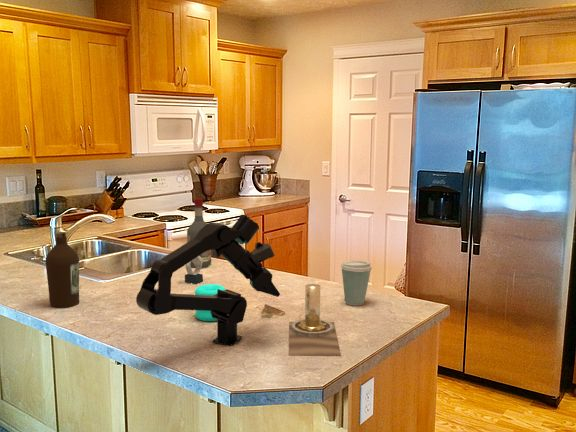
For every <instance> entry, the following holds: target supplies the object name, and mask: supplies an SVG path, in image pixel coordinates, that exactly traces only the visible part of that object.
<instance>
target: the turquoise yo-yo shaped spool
mask: <svg viewBox="0 0 576 432" xmlns="http://www.w3.org/2000/svg"><path fill="white" fill-rule="evenodd" d="M218 289H219V290H227V288H226V287H225V286H223V285H221V284H218V283H217V284H215V283H214V284H213V283H207V284H201V285H199V286H197V287H196V288H195V289H194V295H210V296H213V295H216V294H217V290H218ZM194 315H195V317H196V318H197V319H198V320H200V321H203V322H216V321H217V319H215V318H212V315H211V311H204V310H195V313H194Z"/></svg>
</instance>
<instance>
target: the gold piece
mask: <svg viewBox="0 0 576 432" xmlns="http://www.w3.org/2000/svg"><path fill="white" fill-rule="evenodd" d="M304 296H305V297H304V300H305V302H304V303H305V306H304V307H305V308H304V319H305V321H304V322H303V321H301V322H299V325H298V329H299V330H302V331H307V332H320V331H325V330H326V323H322V321H320V319H321V317H320V316H321V285H320V284H318V283H317V284H316V283H309V284H306V285H305V295H304Z"/></svg>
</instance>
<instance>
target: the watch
mask: <svg viewBox="0 0 576 432" xmlns="http://www.w3.org/2000/svg"><path fill="white" fill-rule="evenodd" d="M192 262H193V263H194V265H195V266H196V268H194V270H193V268H191V266H190V263H191V261H190V262H189V263H187V264H186V265H185V271H186V272H187V274H186V273H185V274H184V283H185V284H191V283H192V284H191V285H199V284H201V283H203V278H204V277H203V275H204V274H202V273H201V272H200V271H201V269H202V268H201V267H202V263H203V259H202V258H201V257H200V256H198V257H196V258H195V259H193V260H192ZM198 283H199V284H198Z"/></svg>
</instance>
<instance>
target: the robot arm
mask: <svg viewBox="0 0 576 432" xmlns="http://www.w3.org/2000/svg"><path fill="white" fill-rule="evenodd" d="M259 230H260V226H259V224H258V223H257V222H255V221H254V220H253V219H251V218H250V217H249V216H247V214H241V215H240V216H239V217H238V218H237V220H236V222H235V223H234V224H233V225H232V226H231V227H229V226H228V225H226V224H222V223H217V222H213V221H211V222H208V223H206V225H205V226H204V227H203V228H202V229H201V230H200V231H199V232H198V234H197V236H196V237H195V238H194V239H192V240H191V241H189V242H186V243H184V244H182V245H181V246H179V247H178V248H176V249H174V250H173V251H171V252H169V253H168V254H167V255H165V256H163V257H162V258H160V259H158V260H155V261H154V262H153V263H152V264H151V268H150V271H149V272H148V274H147V275H146V277H145V278H144V280H143V281H142V284H141V286H140V289H139V292H138V293H137V295H136V298H135V302H136V304H137V306H138V308H139V309H142V310H144V311H146V312H148V313H150V314H151V315H155V316H160V315H164V314H170V313H171V312H173V311H176V310H178V311H196V310H204V311H211V315H212V318H215V319H217V324H216V325H217V326H216V329H217V331H216V332H217V337H216V338H214V339H213V340H212V343H214V344H222V345H227V346H234V345H235V344H236V343H237V342H239V341H240V340H242V339H243V336H242V335H238V324H240V323H242V322H243V321H244V318H245V313H246V311H247V307H248V303H247V298H246V297H244V296H243V295H242V294H241V293H239V292H236V291H233V290H231V289H227V288H226V290H219V289H218V290H217V294H216V295H213V296H210V295H195V294H191V293H189V294H187V293H186V294H185V293H171V292H172V276H173V274H174V273H175V272H176V271H178V270H179V269H181V268H182V267H185V266H186V264H187V263H189V262H190V261H192V260H193V259H195V258H196V257H198V256H200V255H201V254H203V253H204V252H206V251H209V250H211V251H212V258H213V259H215V258H219V257H221V256H222V257H223V258H224V259H225V260H226V261H228V263H229V264H231V265H232V267H234V269H235V270H237V271H238V272H239V273H240V274H242V276H244V277H243V278H245V279H246V280H249V285H250V286H251V288H253V289H254V290H255V291H256V292H260V293H264V294H267V295H271V296H273V297H277V298H279V297H280V296H281V293H280V292H279V290H278V288H277V287H276V286H275V284H274V283H273V274H272V273H271V271H269V270H268V269H267V268H266V267H263V263H262V262H264V261H266V260H269V259H272V258H273V257H275V253H274V250H273V248H272V246H271V245H270V244H269V243H266V242H264V243H262V242H261V241H258V242H255V244H254V248H253V250H251V251H250V250H248V249H246V248H244V247H243V246H242V245H244V244H245V245H248V244H249V243H250V241H251V240H252V239H253V238H254V236H255V235H256V233H258V232H259ZM157 283H158V285H157ZM156 285H157V288H155V287H156Z"/></svg>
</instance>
